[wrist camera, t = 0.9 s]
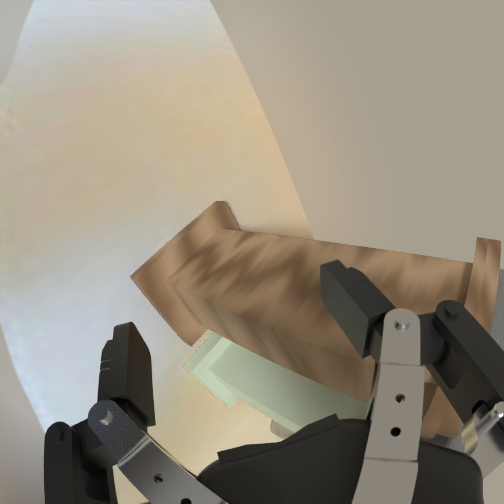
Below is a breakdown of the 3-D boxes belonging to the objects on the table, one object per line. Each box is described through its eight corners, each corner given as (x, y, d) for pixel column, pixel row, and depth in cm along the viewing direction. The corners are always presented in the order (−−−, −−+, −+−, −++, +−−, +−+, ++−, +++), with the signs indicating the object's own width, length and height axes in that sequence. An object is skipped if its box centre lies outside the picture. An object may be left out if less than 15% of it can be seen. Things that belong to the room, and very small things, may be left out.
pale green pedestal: (236, 307, 44) (411, 367, 25) (265, 351, 50) (408, 408, 31) (182, 366, 38) (352, 471, 19) (222, 402, 45) (362, 484, 26)
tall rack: (216, 201, 39) (503, 219, 15) (251, 268, 45) (485, 320, 22) (129, 276, 32) (467, 421, 8) (183, 341, 38) (432, 466, 14)
